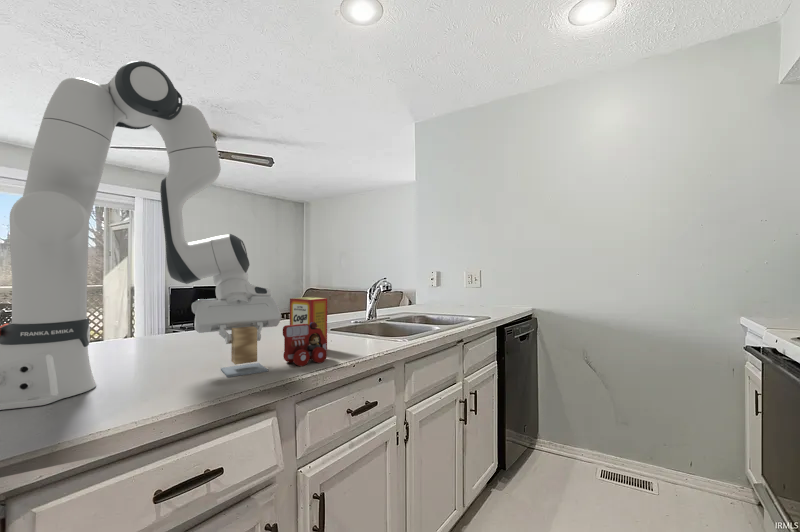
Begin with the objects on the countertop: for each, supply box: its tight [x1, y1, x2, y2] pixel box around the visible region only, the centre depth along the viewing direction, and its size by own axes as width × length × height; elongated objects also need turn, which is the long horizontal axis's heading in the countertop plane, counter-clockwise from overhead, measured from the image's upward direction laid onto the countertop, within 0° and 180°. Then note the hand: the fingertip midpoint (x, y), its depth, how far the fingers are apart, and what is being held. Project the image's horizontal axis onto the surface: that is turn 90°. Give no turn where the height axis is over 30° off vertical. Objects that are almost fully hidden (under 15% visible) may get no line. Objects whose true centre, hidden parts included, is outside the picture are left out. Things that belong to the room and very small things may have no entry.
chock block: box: [230, 326, 258, 366], centre depth 93 cm, size 5×4×8 cm
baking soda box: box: [289, 296, 328, 345], centre depth 119 cm, size 10×6×16 cm
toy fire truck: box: [282, 322, 328, 367], centre depth 102 cm, size 7×12×10 cm, turn 133°
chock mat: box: [220, 362, 269, 378], centre depth 93 cm, size 9×8×1 cm
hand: (243, 340), depth 94 cm, fingers closed on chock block, 5 cm apart
